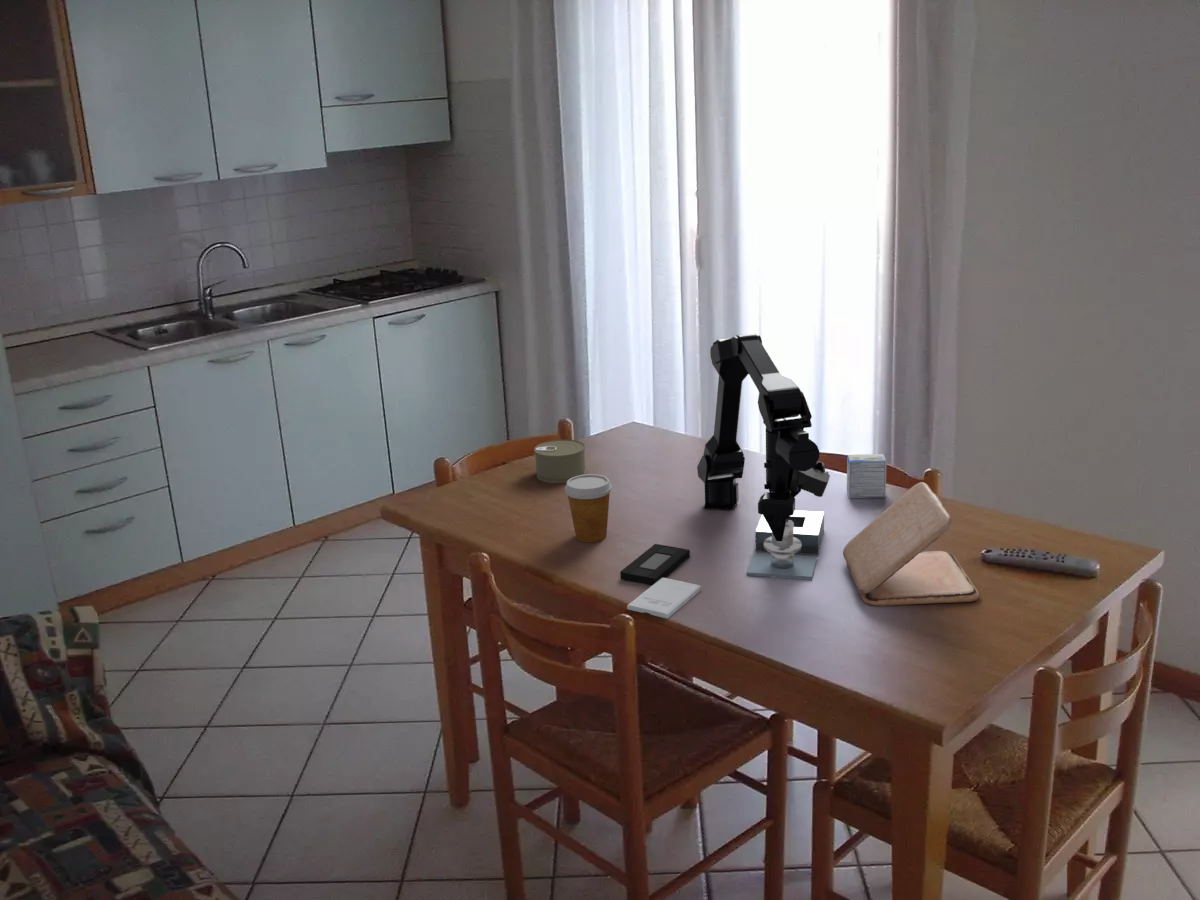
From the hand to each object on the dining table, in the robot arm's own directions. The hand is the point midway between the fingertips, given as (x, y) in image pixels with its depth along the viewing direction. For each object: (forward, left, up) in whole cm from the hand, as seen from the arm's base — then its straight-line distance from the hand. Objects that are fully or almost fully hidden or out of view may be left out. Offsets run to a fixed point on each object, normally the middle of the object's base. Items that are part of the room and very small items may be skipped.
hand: (781, 532), depth 213 cm
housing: (0, +13, -7) cm, 15 cm away
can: (-57, +44, -7) cm, 73 cm away
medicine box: (+13, +40, -7) cm, 43 cm away
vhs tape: (-23, -4, -8) cm, 25 cm away
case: (+23, -2, -8) cm, 24 cm away
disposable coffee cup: (-40, +9, -7) cm, 42 cm away
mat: (0, 0, -7) cm, 7 cm away
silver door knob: (0, 0, -6) cm, 6 cm away
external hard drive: (-19, -17, -8) cm, 26 cm away
